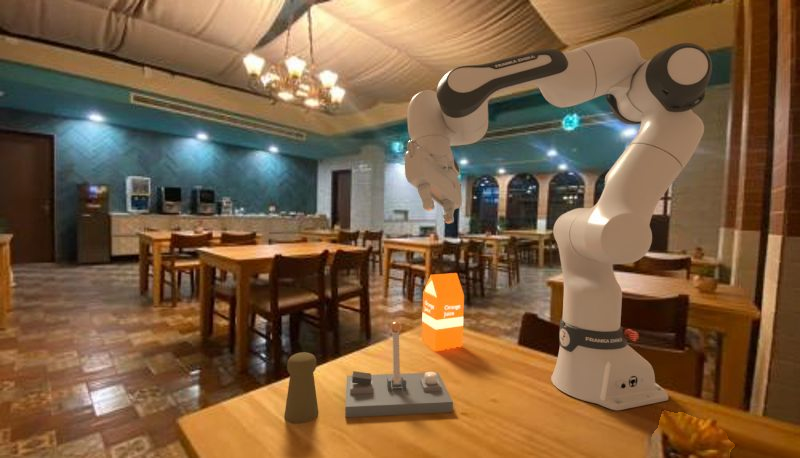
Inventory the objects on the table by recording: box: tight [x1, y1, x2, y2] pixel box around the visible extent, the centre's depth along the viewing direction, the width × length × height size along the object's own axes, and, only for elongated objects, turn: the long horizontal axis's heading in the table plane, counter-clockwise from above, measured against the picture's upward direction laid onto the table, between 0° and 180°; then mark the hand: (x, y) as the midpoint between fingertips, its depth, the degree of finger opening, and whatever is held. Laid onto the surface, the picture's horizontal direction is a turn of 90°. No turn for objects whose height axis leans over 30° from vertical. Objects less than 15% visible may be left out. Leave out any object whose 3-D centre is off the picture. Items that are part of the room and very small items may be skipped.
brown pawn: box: [284, 351, 319, 424], centre depth 66 cm, size 6×6×11 cm
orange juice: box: [421, 272, 465, 352], centre depth 101 cm, size 8×9×20 cm
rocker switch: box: [351, 370, 372, 385], centre depth 72 cm, size 4×2×1 cm, turn 97°
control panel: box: [344, 372, 454, 418], centre depth 73 cm, size 20×12×4 cm, turn 97°
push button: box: [424, 371, 437, 384], centre depth 73 cm, size 3×3×1 cm
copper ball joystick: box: [389, 321, 402, 387], centre depth 74 cm, size 2×2×13 cm
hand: (439, 216), depth 74 cm, fingers open, 8 cm apart
